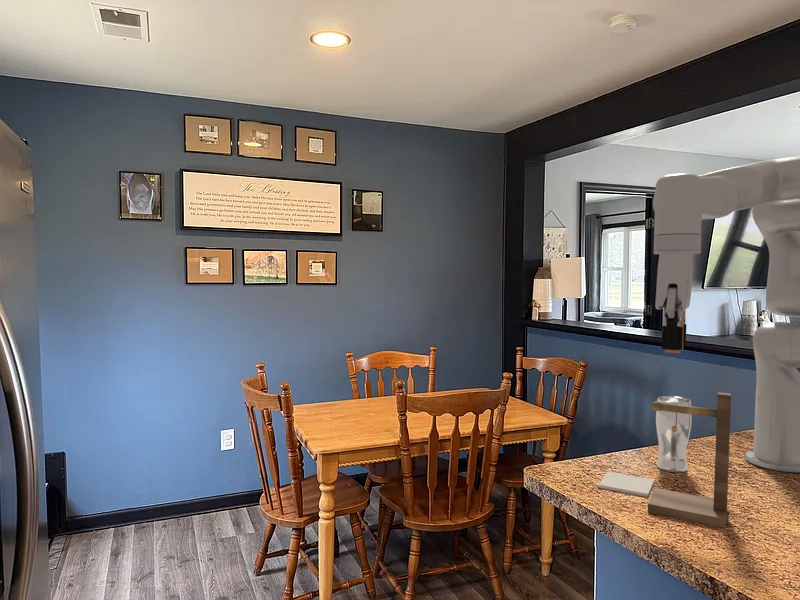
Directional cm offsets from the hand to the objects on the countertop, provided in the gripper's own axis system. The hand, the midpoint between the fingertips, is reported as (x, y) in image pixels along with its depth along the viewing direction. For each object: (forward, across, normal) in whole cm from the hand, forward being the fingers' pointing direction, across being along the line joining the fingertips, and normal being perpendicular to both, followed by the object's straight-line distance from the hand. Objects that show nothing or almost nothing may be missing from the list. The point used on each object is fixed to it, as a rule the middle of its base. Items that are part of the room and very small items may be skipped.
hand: (674, 346), depth 104 cm
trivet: (+29, -7, -8) cm, 31 cm away
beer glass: (+29, -24, -2) cm, 38 cm away
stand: (+29, 0, +3) cm, 29 cm away
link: (+1, 0, 0) cm, 1 cm away
